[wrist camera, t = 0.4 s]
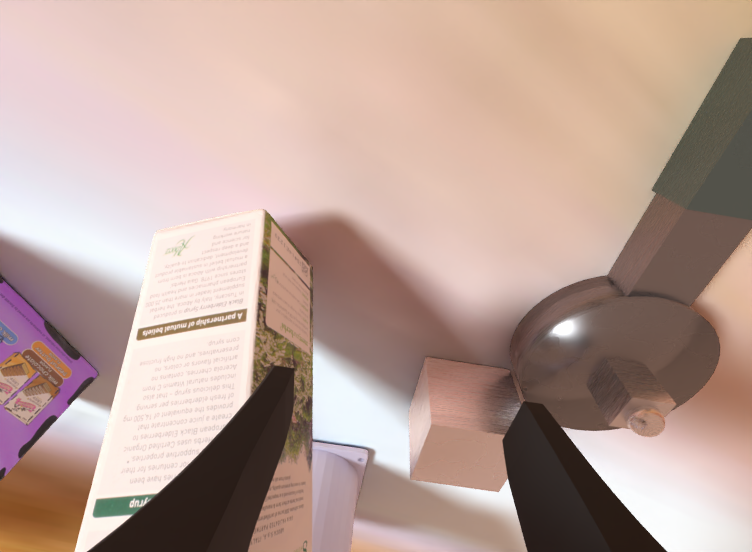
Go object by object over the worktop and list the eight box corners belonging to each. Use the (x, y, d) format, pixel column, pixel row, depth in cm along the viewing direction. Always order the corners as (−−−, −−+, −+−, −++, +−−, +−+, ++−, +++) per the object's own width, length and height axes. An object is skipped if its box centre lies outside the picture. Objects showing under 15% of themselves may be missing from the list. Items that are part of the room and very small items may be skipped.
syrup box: (149, 228, 16) (25, 681, 9) (269, 202, 15) (227, 688, 8) (224, 282, 21) (178, 602, 14) (319, 265, 20) (317, 601, 13)
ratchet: (629, 407, 25) (690, 501, 20) (488, 386, 24) (512, 475, 19) (911, 70, 14) (1218, 81, 9) (661, 23, 13) (823, 6, 8)
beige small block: (483, 421, 26) (498, 491, 22) (408, 410, 26) (410, 479, 22) (509, 369, 23) (533, 439, 19) (425, 356, 23) (431, 424, 19)
